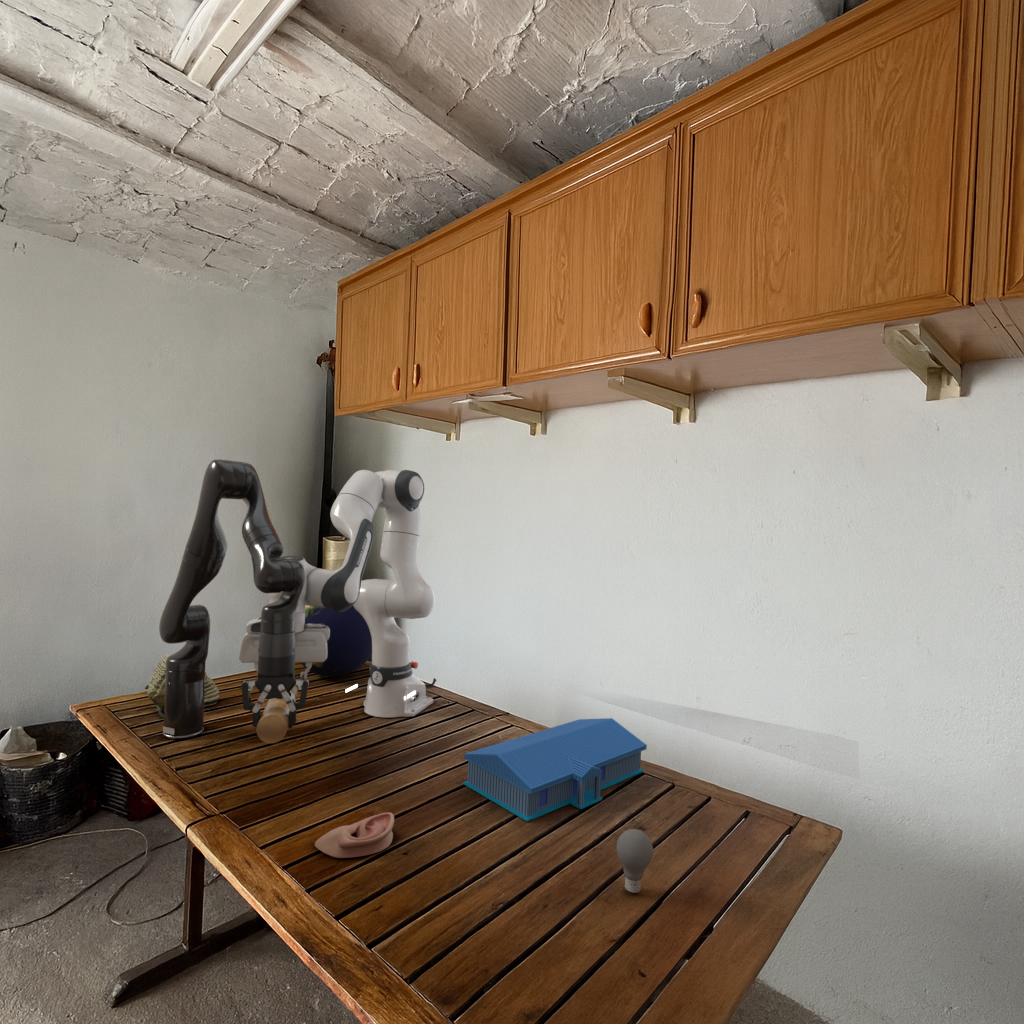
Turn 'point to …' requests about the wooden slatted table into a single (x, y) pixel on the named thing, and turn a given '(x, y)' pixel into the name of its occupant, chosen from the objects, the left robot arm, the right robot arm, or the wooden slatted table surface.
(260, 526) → the left robot arm
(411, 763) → the wooden slatted table surface
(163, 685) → the fossil
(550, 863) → the wooden slatted table surface
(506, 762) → the model building
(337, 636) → the globe
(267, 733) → the rod
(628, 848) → the light bulb
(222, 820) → the wooden slatted table surface
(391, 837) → the anatomical model
